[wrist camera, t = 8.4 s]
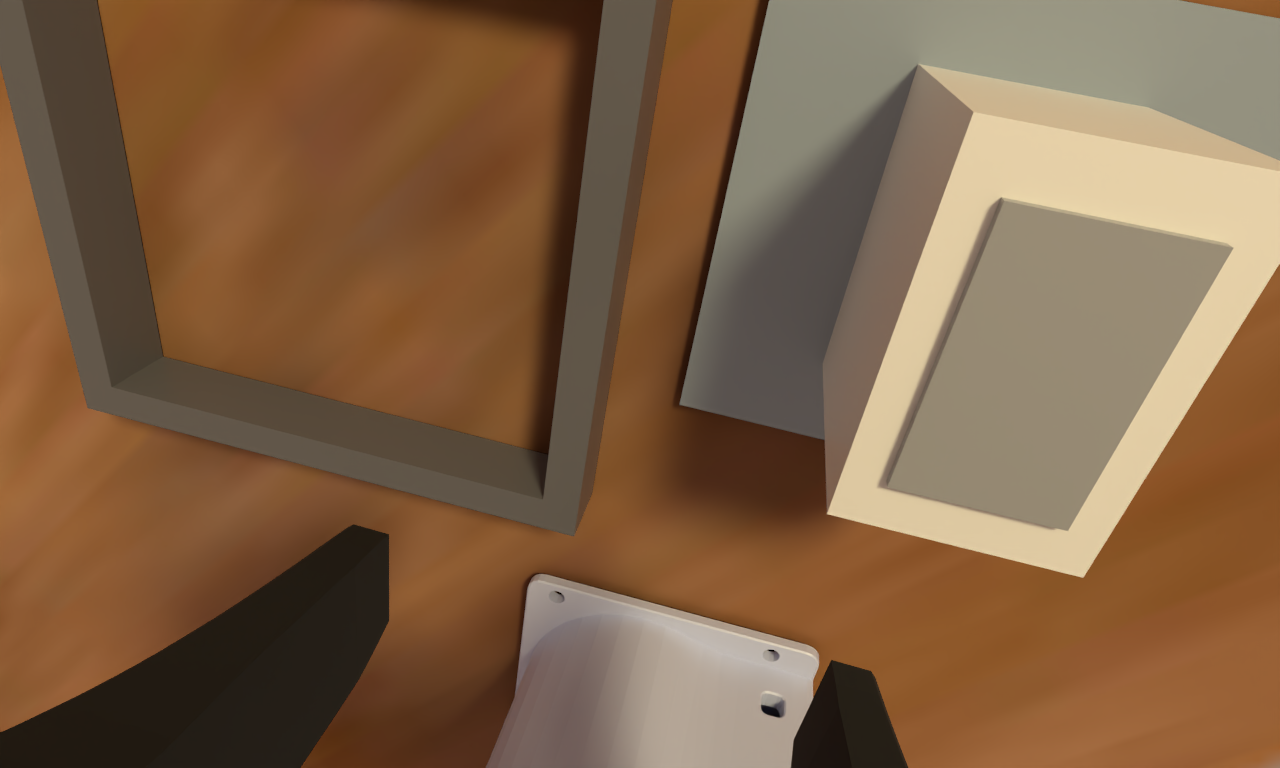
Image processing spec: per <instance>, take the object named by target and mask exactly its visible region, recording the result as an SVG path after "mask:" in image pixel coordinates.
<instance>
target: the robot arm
mask: <svg viewBox="0 0 1280 768" xmlns="http://www.w3.org/2000/svg"><path fill="white" fill-rule="evenodd" d="M555 591H558V592H560V593H562V594H563V595H562V594H558V593H556V592H555ZM388 622H389V534H385V533H382V532H378V531H375V530H371V529H368V528H364V527H361V526H357V525H352V526H350V527H348V528H346V529H345V530H343V531H342V532H341V533H339V534H338V535H336V536H335V537H333V538H332V539H331V540H329V541H328V542H326V543H325V544H324V545H322V546H321V547H319V548H318V549H316V550H315V551H314V552H312V553H311V554H309V555H308V556H307V557H305V558H304V559H302V560H301V561H299V562H298V563H297V564H295V565H294V566H292V567H291V568H289V569H288V570H287V571H285V572H284V573H282V574H281V575H279V576H278V577H276V578H275V579H274V580H272V581H271V582H269V583H268V584H266V585H265V586H263V587H262V588H260V589H259V590H257V591H255V592H254V593H252V594H251V595H249V596H248V597H246V598H245V599H243V600H242V601H240V602H239V603H237V604H236V605H234V606H233V607H231V608H230V609H228V610H227V611H225V612H224V613H222V614H221V615H219V616H217V617H216V618H214V619H213V620H211V621H209V622H208V623H206V624H204V625H203V626H201V627H199V628H198V629H196V630H194V631H193V632H191V633H190V634H188V635H186V636H185V637H183V638H181V639H180V640H178V641H176V642H175V643H173V644H171V645H170V646H168V647H166V648H165V649H163V650H161V651H160V652H158V653H156V654H155V655H153V656H151V657H149V658H147V659H146V660H144V661H142V662H140V663H139V664H137V665H135V666H133V667H131V668H130V669H128V670H126V671H124V672H122V673H120V674H119V675H117V676H115V677H113V678H111V679H109V680H107V681H105V682H103V683H102V684H100V685H98V686H96V687H94V688H92V689H90V690H88V691H86V692H84V693H82V694H80V695H78V696H77V697H75V698H72V699H70V700H68V701H66V702H64V703H62V704H60V705H58V706H56V707H54V708H52V709H50V710H48V711H46V712H43V713H41V714H39V715H37V716H35V717H33V718H31V719H29V720H27V721H25V722H23V723H21V724H18V725H16V726H14V727H12V728H10V729H8V730H5V731H3V732H1V733H0V768H300V767H301V766H302V764H303V763H304V761H305V760H306V758H307V757H308V755H309V754H310V752H311V751H312V750H313V748H314V747H315V745H316V744H317V742H318V741H319V739H320V738H321V736H322V735H323V733H324V732H325V730H326V729H327V727H328V726H329V724H330V723H331V721H332V720H333V718H334V717H335V715H336V714H337V712H338V710H339V709H340V707H341V706H342V704H343V703H344V701H345V700H346V698H347V697H348V695H349V694H350V692H351V691H352V689H353V688H354V686H355V685H356V683H357V681H358V680H359V678H360V676H361V674H362V673H363V671H364V669H365V667H366V665H367V663H368V661H369V659H370V657H371V655H372V654H373V652H374V650H375V648H376V646H377V644H378V642H379V640H380V638H381V636H382V634H383V632H384V630H385V628H386V626H387V624H388ZM768 650H775V652H770V651H768ZM818 667H819V654H818V652H817V651H816V650H815V649H814V648H813V647H811V646H809V645H806V644H803V643H799V642H795V641H791V640H788V639H784V638H780V637H777V636H773V635H769V634H765V633H762V632H758V631H754V630H751V629H747V628H743V627H740V626H736V625H732V624H728V623H725V622H721V621H717V620H714V619H710V618H706V617H702V616H699V615H695V614H691V613H688V612H684V611H680V610H677V609H673V608H669V607H665V606H662V605H658V604H654V603H651V602H647V601H643V600H639V599H636V598H632V597H628V596H625V595H621V594H617V593H614V592H610V591H606V590H602V589H599V588H595V587H591V586H588V585H584V584H580V583H576V582H573V581H569V580H565V579H562V578H558V577H554V576H551V575H547V574H538V575H535V576H534V577H532V579H531V581H530V583H529V586H528V588H527V597H526V605H525V614H524V622H523V631H522V639H521V648H520V657H519V665H518V674H517V682H516V691H515V697H514V700H513V702H512V705H511V707H510V710H509V712H508V714H507V717H506V719H505V722H504V724H503V727H502V729H501V732H500V734H499V737H498V739H497V741H496V744H495V746H494V749H493V751H492V754H491V756H490V759H489V761H488V763H487V766H486V768H908V766H907V763H906V761H905V758H904V756H903V753H902V750H901V748H900V745H899V743H898V740H897V738H896V735H895V732H894V729H893V727H892V724H891V721H890V719H889V716H888V713H887V710H886V707H885V705H884V702H883V699H882V696H881V693H880V690H879V687H878V684H877V682H876V679H875V677H874V675H873V674H872V672H871V671H868V670H865V669H861V668H858V667H854V666H850V665H847V664H843V663H840V662H836V661H833V660H831V662H830V664H829V666H828V668H827V670H826V673H825V675H824V677H823V679H822V681H821V683H820V685H819V687H818V689H817V691H816V694H815V696H814V698H813V679H814V677H815V674H816V672H817V670H818Z"/></svg>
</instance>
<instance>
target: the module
mask: <svg viewBox="0 0 1280 768" xmlns="http://www.w3.org/2000/svg"><path fill="white" fill-rule="evenodd" d="M1279 264H1280V161H1279V160H1277V159H1274V158H1272V157H1270V156H1267V155H1265V154H1262V153H1260V152H1257V151H1255V150H1252V149H1250V148H1247V147H1245V146H1242V145H1240V144H1237V143H1235V142H1232V141H1230V140H1228V139H1225V138H1223V137H1220V136H1218V135H1215V134H1213V133H1210V132H1208V131H1205V130H1203V129H1200V128H1198V127H1195V126H1193V125H1190V124H1188V123H1186V122H1183V121H1181V120H1178V119H1176V118H1173V117H1171V116H1168V115H1166V114H1163V113H1161V112H1158V111H1156V110H1153V109H1151V108H1148V107H1143V106H1138V105H1132V104H1127V103H1122V102H1117V101H1111V100H1106V99H1101V98H1096V97H1090V96H1085V95H1080V94H1074V93H1069V92H1064V91H1059V90H1053V89H1048V88H1043V87H1037V86H1032V85H1027V84H1022V83H1016V82H1011V81H1006V80H1000V79H995V78H990V77H985V76H979V75H974V74H969V73H964V72H958V71H953V70H948V69H942V68H937V67H932V66H927V65H921V64H918V66H917V69H916V72H915V76H914V79H913V82H912V85H911V88H910V91H909V94H908V97H907V101H906V104H905V107H904V110H903V113H902V116H901V119H900V123H899V126H898V129H897V132H896V135H895V138H894V141H893V145H892V148H891V151H890V154H889V157H888V160H887V163H886V166H885V170H884V173H883V176H882V179H881V182H880V185H879V188H878V192H877V195H876V198H875V201H874V204H873V207H872V210H871V213H870V217H869V220H868V223H867V226H866V229H865V232H864V235H863V239H862V242H861V245H860V248H859V251H858V254H857V257H856V260H855V264H854V267H853V270H852V273H851V276H850V279H849V282H848V286H847V289H846V292H845V295H844V298H843V301H842V304H841V307H840V311H839V314H838V317H837V320H836V323H835V326H834V329H833V333H832V336H831V339H830V342H829V345H828V348H827V351H826V355H825V358H824V361H823V398H824V432H825V466H826V500H827V514H829V515H833V516H837V517H841V518H845V519H849V520H853V521H857V522H861V523H865V524H869V525H873V526H877V527H881V528H885V529H889V530H893V531H897V532H901V533H905V534H909V535H913V536H917V537H921V538H925V539H929V540H933V541H937V542H941V543H946V544H950V545H954V546H958V547H962V548H966V549H970V550H974V551H978V552H982V553H986V554H990V555H994V556H998V557H1002V558H1006V559H1010V560H1014V561H1018V562H1022V563H1026V564H1030V565H1034V566H1038V567H1042V568H1046V569H1050V570H1054V571H1058V572H1062V573H1066V574H1070V575H1074V576H1078V577H1082V578H1083V577H1084V576H1085V574H1086V572H1087V571H1088V569H1089V568H1090V566H1091V564H1092V563H1093V561H1094V560H1095V558H1096V556H1097V555H1098V553H1099V552H1100V550H1101V548H1102V547H1103V545H1104V544H1105V542H1106V540H1107V539H1108V537H1109V536H1110V534H1111V532H1112V531H1113V529H1114V528H1115V526H1116V524H1117V523H1118V521H1119V520H1120V518H1121V516H1122V515H1123V513H1124V512H1125V510H1126V508H1127V507H1128V505H1129V504H1130V502H1131V500H1132V499H1133V497H1134V496H1135V494H1136V492H1137V491H1138V489H1139V488H1140V486H1141V484H1142V483H1143V481H1144V480H1145V478H1146V476H1147V475H1148V473H1149V472H1150V470H1151V468H1152V467H1153V465H1154V464H1155V462H1156V460H1157V459H1158V457H1159V456H1160V454H1161V452H1162V451H1163V449H1164V448H1165V446H1166V444H1167V443H1168V441H1169V440H1170V438H1171V436H1172V435H1173V433H1174V432H1175V430H1176V428H1177V427H1178V425H1179V424H1180V422H1181V420H1182V419H1183V417H1184V416H1185V414H1186V412H1187V411H1188V409H1189V408H1190V406H1191V404H1192V403H1193V401H1194V400H1195V398H1196V396H1197V395H1198V393H1199V392H1200V390H1201V388H1202V387H1203V385H1204V384H1205V382H1206V380H1207V379H1208V377H1209V376H1210V374H1211V372H1212V371H1213V369H1214V368H1215V366H1216V364H1217V363H1218V361H1219V360H1220V358H1221V356H1222V355H1223V353H1224V352H1225V350H1226V348H1227V347H1228V345H1229V344H1230V342H1231V340H1232V339H1233V337H1234V336H1235V334H1236V332H1237V331H1238V329H1239V328H1240V326H1241V324H1242V323H1243V321H1244V320H1245V318H1246V316H1247V315H1248V313H1249V312H1250V310H1251V308H1252V307H1253V305H1254V304H1255V302H1256V300H1257V299H1258V297H1259V296H1260V294H1261V292H1262V291H1263V289H1264V288H1265V286H1266V284H1267V283H1268V281H1269V280H1270V278H1271V276H1272V275H1273V273H1274V272H1275V270H1276V268H1277V267H1278V265H1279Z"/></svg>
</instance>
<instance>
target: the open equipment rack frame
mask: <svg viewBox="0 0 1280 768" xmlns="http://www.w3.org/2000/svg"><path fill="white" fill-rule="evenodd" d="M672 1H673V0H604V2H603V10H602V18H601V27H600V35H599V43H598V51H597V60H596V68H595V76H594V84H593V93H592V101H591V109H590V117H589V125H588V134H587V142H586V150H585V158H584V167H583V175H582V183H581V191H580V200H579V208H578V216H577V224H576V232H575V241H574V249H573V257H572V265H571V274H570V282H569V290H568V298H567V307H566V315H565V323H564V331H563V340H562V348H561V356H560V364H559V372H558V381H557V389H556V397H555V405H554V414H553V422H552V430H551V438H550V447H549V455H547V454H544V453H540V452H536V451H532V450H528V449H524V448H520V447H516V446H512V445H508V444H504V443H500V442H496V441H492V440H489V439H485V438H481V437H477V436H473V435H469V434H465V433H461V432H457V431H453V430H449V429H445V428H441V427H438V426H434V425H430V424H426V423H422V422H418V421H414V420H410V419H406V418H402V417H398V416H394V415H390V414H386V413H383V412H379V411H375V410H371V409H367V408H363V407H359V406H355V405H351V404H347V403H343V402H339V401H335V400H331V399H328V398H324V397H320V396H316V395H312V394H308V393H304V392H300V391H296V390H292V389H288V388H284V387H280V386H276V385H273V384H269V383H265V382H261V381H257V380H253V379H249V378H245V377H241V376H237V375H233V374H229V373H225V372H221V371H218V370H214V369H210V368H206V367H202V366H198V365H194V364H190V363H186V362H182V361H178V360H174V359H170V358H166V357H163V353H162V348H161V343H160V337H159V332H158V327H157V321H156V316H155V310H154V305H153V300H152V294H151V289H150V284H149V278H148V273H147V267H146V262H145V257H144V251H143V246H142V241H141V235H140V230H139V224H138V219H137V214H136V208H135V203H134V198H133V192H132V187H131V181H130V176H129V171H128V165H127V160H126V155H125V149H124V144H123V138H122V133H121V128H120V122H119V117H118V111H117V106H116V101H115V95H114V90H113V85H112V79H111V74H110V68H109V63H108V58H107V52H106V47H105V42H104V36H103V31H102V25H101V20H100V15H99V9H98V4H97V0H0V65H1V69H2V73H3V77H4V81H5V85H6V89H7V93H8V97H9V101H10V105H11V109H12V112H13V116H14V120H15V124H16V128H17V132H18V136H19V140H20V144H21V148H22V152H23V156H24V160H25V164H26V167H27V171H28V175H29V179H30V183H31V187H32V191H33V195H34V199H35V203H36V207H37V211H38V215H39V219H40V223H41V226H42V230H43V234H44V238H45V242H46V246H47V250H48V254H49V258H50V262H51V266H52V270H53V274H54V278H55V281H56V285H57V289H58V293H59V297H60V301H61V305H62V309H63V313H64V317H65V321H66V325H67V329H68V333H69V336H70V340H71V344H72V348H73V352H74V356H75V360H76V364H77V368H78V372H79V376H80V380H81V384H82V388H83V392H84V395H85V399H86V403H87V407H88V408H90V409H94V410H97V411H101V412H105V413H109V414H112V415H116V416H120V417H124V418H128V419H131V420H135V421H139V422H143V423H147V424H150V425H154V426H158V427H162V428H165V429H169V430H173V431H177V432H181V433H184V434H188V435H192V436H196V437H200V438H203V439H207V440H211V441H215V442H218V443H222V444H226V445H230V446H234V447H237V448H241V449H245V450H249V451H253V452H256V453H260V454H264V455H268V456H271V457H275V458H279V459H283V460H287V461H290V462H294V463H298V464H302V465H306V466H309V467H313V468H317V469H321V470H324V471H328V472H332V473H336V474H340V475H343V476H347V477H351V478H355V479H359V480H362V481H366V482H370V483H374V484H377V485H381V486H385V487H389V488H393V489H396V490H400V491H404V492H408V493H412V494H415V495H419V496H423V497H427V498H430V499H434V500H438V501H442V502H446V503H449V504H453V505H457V506H461V507H465V508H468V509H472V510H476V511H480V512H483V513H487V514H491V515H495V516H499V517H502V518H506V519H510V520H514V521H518V522H521V523H525V524H529V525H533V526H537V527H540V528H544V529H548V530H552V531H555V532H559V533H563V534H567V535H571V536H574V535H575V533H576V531H577V528H578V526H579V524H580V521H581V519H582V516H583V514H584V512H585V509H586V507H587V504H588V502H589V500H590V497H591V495H592V491H593V485H594V479H595V473H596V467H597V460H598V454H599V448H600V442H601V436H602V430H603V424H604V418H605V411H606V405H607V399H608V393H609V387H610V381H611V375H612V369H613V362H614V356H615V350H616V344H617V338H618V332H619V326H620V320H621V313H622V307H623V301H624V295H625V289H626V283H627V277H628V271H629V264H630V258H631V252H632V246H633V240H634V234H635V228H636V222H637V215H638V209H639V203H640V197H641V191H642V185H643V179H644V173H645V166H646V160H647V154H648V148H649V142H650V136H651V130H652V124H653V117H654V111H655V105H656V99H657V93H658V87H659V81H660V75H661V68H662V62H663V56H664V50H665V44H666V38H667V32H668V26H669V19H670V13H671V7H672Z"/></svg>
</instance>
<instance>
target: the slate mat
mask: <svg viewBox="0 0 1280 768" xmlns="http://www.w3.org/2000/svg"><path fill="white" fill-rule="evenodd" d="M918 64H921V65H927V66H932V67H937V68H942V69H948V70H953V71H958V72H964V73H969V74H974V75H979V76H985V77H990V78H995V79H1000V80H1006V81H1011V82H1016V83H1022V84H1027V85H1032V86H1037V87H1043V88H1048V89H1053V90H1059V91H1064V92H1069V93H1074V94H1080V95H1085V96H1090V97H1096V98H1101V99H1106V100H1111V101H1117V102H1122V103H1127V104H1132V105H1138V106H1143V107H1148V108H1151V109H1153V110H1156V111H1158V112H1161V113H1163V114H1166V115H1168V116H1171V117H1173V118H1176V119H1178V120H1181V121H1183V122H1186V123H1188V124H1190V125H1193V126H1195V127H1198V128H1200V129H1203V130H1205V131H1208V132H1210V133H1213V134H1215V135H1218V136H1220V137H1223V138H1225V139H1228V140H1230V141H1232V142H1235V143H1237V144H1240V145H1242V146H1245V147H1247V148H1250V149H1252V150H1255V151H1257V152H1260V153H1262V154H1265V155H1267V156H1270V157H1272V158H1274V159H1277V160H1279V161H1280V19H1279V18H1273V17H1268V16H1262V15H1257V14H1251V13H1246V12H1240V11H1235V10H1229V9H1224V8H1218V7H1213V6H1207V5H1202V4H1197V3H1191V2H1186V1H1180V0H769V3H768V8H767V12H766V17H765V21H764V26H763V30H762V35H761V39H760V44H759V48H758V53H757V57H756V62H755V66H754V71H753V75H752V80H751V84H750V89H749V93H748V98H747V102H746V107H745V111H744V116H743V120H742V125H741V129H740V134H739V138H738V143H737V147H736V152H735V157H734V161H733V166H732V170H731V175H730V179H729V184H728V188H727V193H726V197H725V202H724V206H723V211H722V215H721V220H720V224H719V229H718V233H717V238H716V242H715V247H714V251H713V256H712V260H711V265H710V269H709V274H708V278H707V283H706V287H705V292H704V296H703V301H702V305H701V310H700V314H699V319H698V323H697V328H696V332H695V337H694V341H693V346H692V350H691V355H690V359H689V364H688V368H687V373H686V377H685V382H684V386H683V391H682V395H681V400H680V404H679V405H683V406H687V407H691V408H695V409H699V410H704V411H708V412H712V413H716V414H720V415H724V416H728V417H732V418H736V419H740V420H744V421H749V422H753V423H757V424H761V425H765V426H769V427H773V428H777V429H781V430H785V431H790V432H794V433H798V434H802V435H806V436H810V437H814V438H818V439H822V440H825V432H824V398H823V361H824V358H825V355H826V351H827V348H828V345H829V342H830V339H831V336H832V333H833V329H834V326H835V323H836V320H837V317H838V314H839V311H840V307H841V304H842V301H843V298H844V295H845V292H846V289H847V286H848V282H849V279H850V276H851V273H852V270H853V267H854V264H855V260H856V257H857V254H858V251H859V248H860V245H861V242H862V239H863V235H864V232H865V229H866V226H867V223H868V220H869V217H870V213H871V210H872V207H873V204H874V201H875V198H876V195H877V192H878V188H879V185H880V182H881V179H882V176H883V173H884V170H885V166H886V163H887V160H888V157H889V154H890V151H891V148H892V145H893V141H894V138H895V135H896V132H897V129H898V126H899V123H900V119H901V116H902V113H903V110H904V107H905V104H906V101H907V97H908V94H909V91H910V88H911V85H912V82H913V79H914V76H915V72H916V69H917V66H918Z"/></svg>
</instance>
